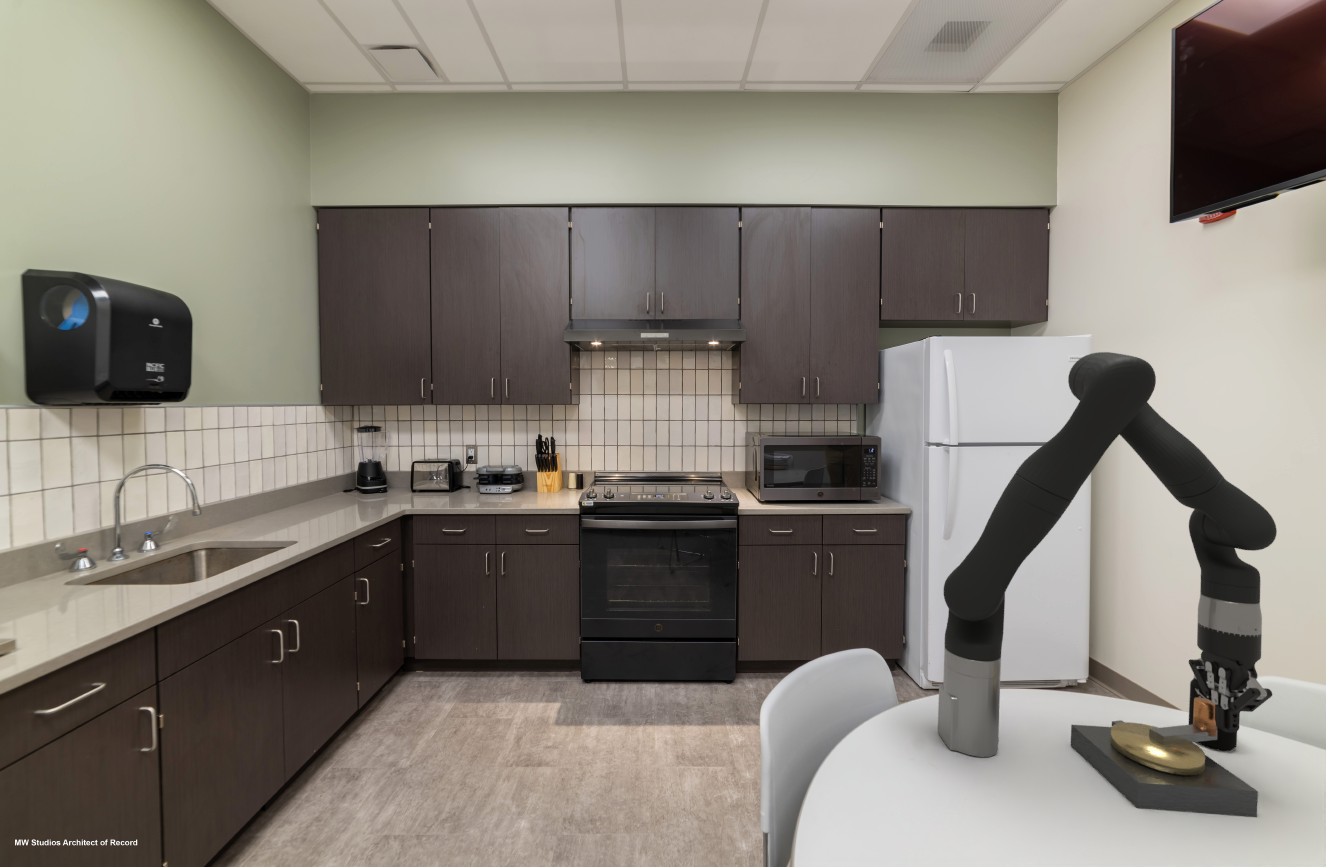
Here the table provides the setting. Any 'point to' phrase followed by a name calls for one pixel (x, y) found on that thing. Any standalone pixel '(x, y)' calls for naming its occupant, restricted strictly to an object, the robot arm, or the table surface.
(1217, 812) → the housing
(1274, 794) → the table surface
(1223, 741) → the beverage can
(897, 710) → the table surface
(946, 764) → the table surface
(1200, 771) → the gold plate with handle
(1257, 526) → the robot arm
